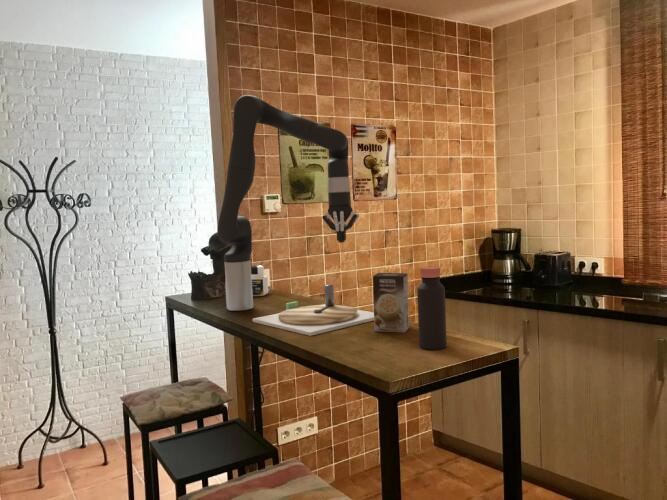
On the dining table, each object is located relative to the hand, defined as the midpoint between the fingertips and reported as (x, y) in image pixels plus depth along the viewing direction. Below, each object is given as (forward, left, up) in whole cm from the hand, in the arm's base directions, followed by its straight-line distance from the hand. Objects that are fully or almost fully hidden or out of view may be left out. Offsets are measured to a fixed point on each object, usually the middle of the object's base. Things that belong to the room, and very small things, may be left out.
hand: (341, 242), depth 199 cm
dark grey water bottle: (+55, -19, -23) cm, 63 cm away
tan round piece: (+6, -17, -22) cm, 28 cm away
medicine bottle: (-53, -1, -23) cm, 58 cm away
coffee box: (+34, -12, -23) cm, 43 cm away
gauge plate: (+6, -17, -23) cm, 29 cm away
